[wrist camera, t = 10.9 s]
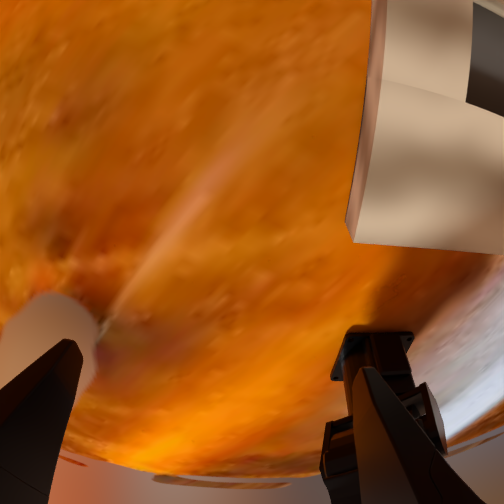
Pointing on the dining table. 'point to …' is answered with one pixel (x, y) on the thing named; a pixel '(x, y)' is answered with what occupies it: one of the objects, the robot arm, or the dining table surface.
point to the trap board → (432, 128)
